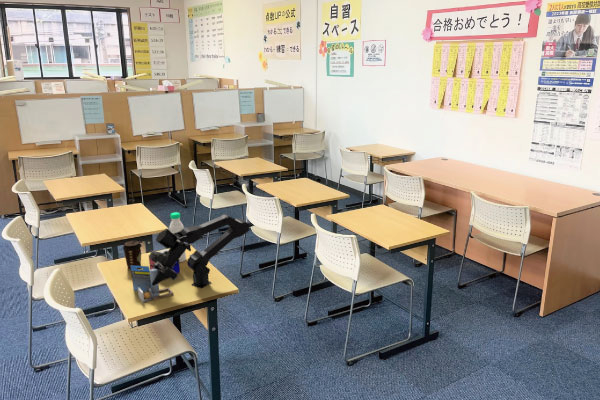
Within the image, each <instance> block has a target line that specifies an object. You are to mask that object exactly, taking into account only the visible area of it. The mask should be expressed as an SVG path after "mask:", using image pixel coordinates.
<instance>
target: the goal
mask: <svg viewBox="0 0 600 400" xmlns="http://www.w3.org/2000/svg"><path fill="white" fill-rule="evenodd" d="M148 290H149V291H150V298H149V299H145V298H144V294H145V293H144V291H142V290H141V289H140V287H138V292H137V294H138V298H139V300H140V301H141V302H142V304H145V303H147V302H150V301H153V300H154V299H152V290H151V289H150V288H149V286H148V285H146V291H145V292H149V291H148Z"/></svg>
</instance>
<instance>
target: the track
mask: <svg viewBox="0 0 600 400" xmlns="http://www.w3.org/2000/svg"><path fill="white" fill-rule="evenodd" d="M165 292H168V293H165ZM149 293H150V292H149ZM160 293H164V294H161V295H160ZM171 296H174V292H173V290H171V288H170V287H169V286H168V287H165V288H161V289H160V288H159V296H156V297H153V300H154V301H156V300H160V299H164V298H168V297H171Z"/></svg>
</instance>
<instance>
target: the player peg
mask: <svg viewBox="0 0 600 400" xmlns="http://www.w3.org/2000/svg"><path fill="white" fill-rule="evenodd" d="M149 271H150V281H151V290H152V299H153V297H156V296H160V293H159V290H160V285H159V284H160V283H158V284H156V285H154V286H153V285H152V282H153V281H154V279H155V277H156V276H157V274H158V271H157V269H151V270H150V269H149ZM153 300H154V299H153Z"/></svg>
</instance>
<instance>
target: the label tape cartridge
mask: <svg viewBox="0 0 600 400" xmlns="http://www.w3.org/2000/svg"><path fill="white" fill-rule="evenodd" d="M130 266H131V270H130V272H131V280H132V286H133V287H132V289H133V291H138V287H140V289H141V290H142V291H143V292H147V291H146V285H148V286H149V288H150V289H151V282H149V280H150V265H149V266H147V265H141V266H134V265H130ZM137 268H139V269H137ZM148 291H149V290H148ZM149 292H150V291H149Z"/></svg>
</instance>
